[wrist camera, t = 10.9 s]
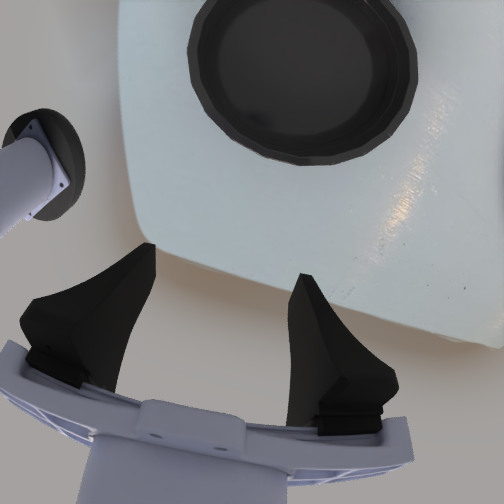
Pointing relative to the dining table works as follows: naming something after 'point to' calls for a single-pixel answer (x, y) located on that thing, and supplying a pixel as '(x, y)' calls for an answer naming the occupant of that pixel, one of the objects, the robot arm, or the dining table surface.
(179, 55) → the dining table surface
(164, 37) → the dining table surface
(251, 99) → the pan
